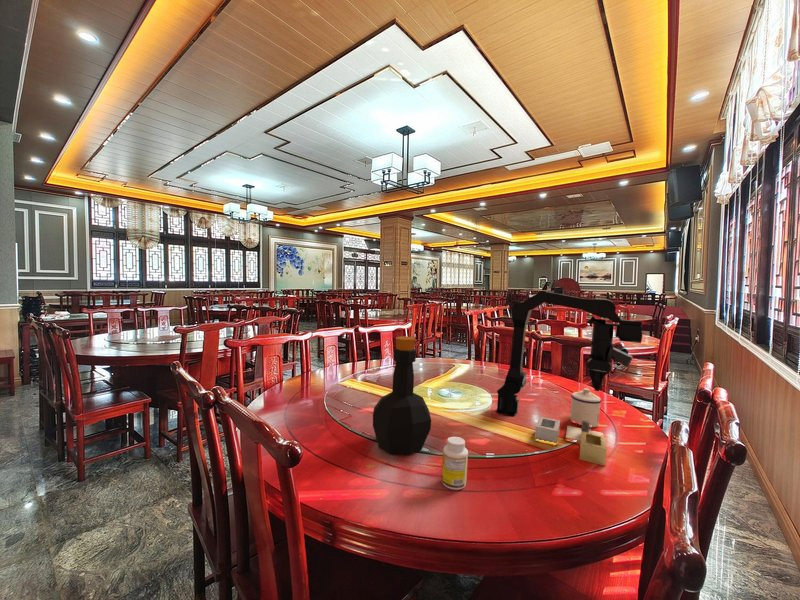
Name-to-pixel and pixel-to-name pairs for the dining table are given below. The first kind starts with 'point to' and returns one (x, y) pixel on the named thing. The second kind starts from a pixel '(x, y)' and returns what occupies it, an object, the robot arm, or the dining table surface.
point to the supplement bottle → (454, 464)
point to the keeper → (579, 431)
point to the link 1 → (547, 429)
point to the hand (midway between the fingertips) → (597, 387)
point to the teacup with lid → (585, 407)
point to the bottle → (402, 407)
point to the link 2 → (593, 448)
